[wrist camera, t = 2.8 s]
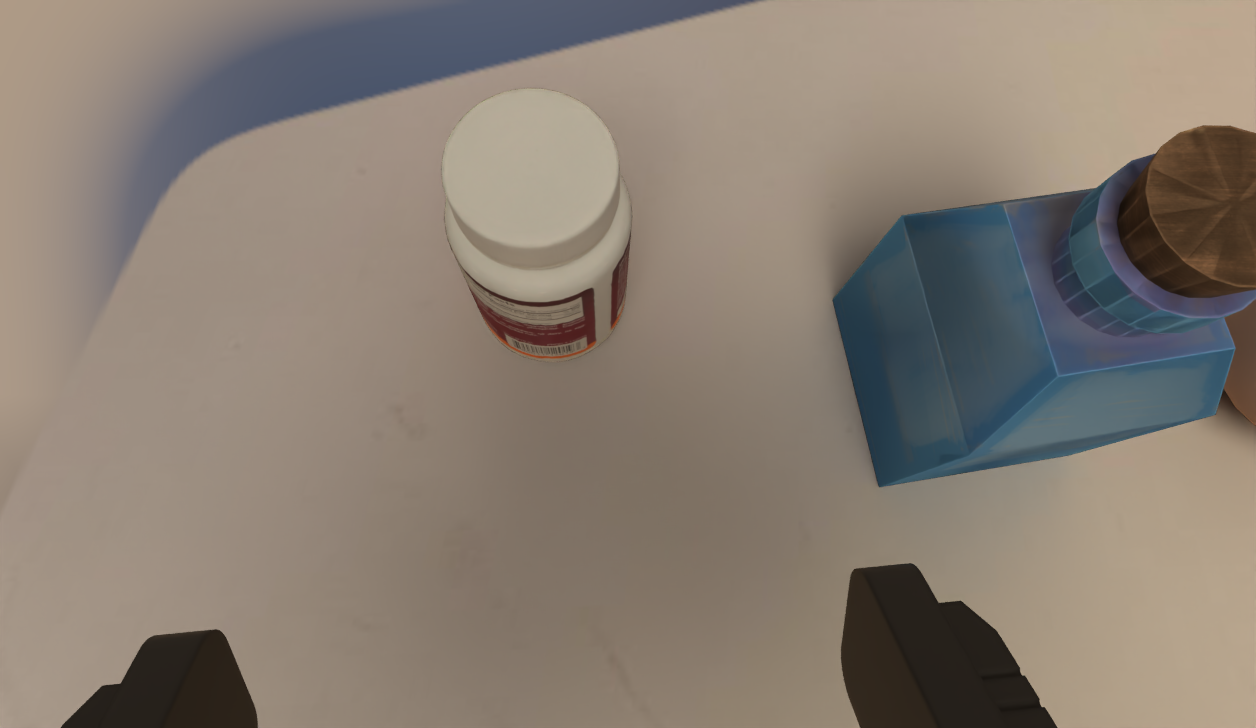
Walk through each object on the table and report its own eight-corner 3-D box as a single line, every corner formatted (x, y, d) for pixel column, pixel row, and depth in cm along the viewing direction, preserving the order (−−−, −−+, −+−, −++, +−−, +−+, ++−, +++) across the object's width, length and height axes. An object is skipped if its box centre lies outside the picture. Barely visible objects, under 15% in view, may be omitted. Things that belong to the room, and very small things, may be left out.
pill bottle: (550, 200, 27) (529, 33, 19) (655, 292, 26) (680, 160, 18) (446, 296, 26) (377, 165, 18) (553, 395, 25) (531, 305, 17)
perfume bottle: (879, 487, 25) (1126, 400, 13) (832, 299, 26) (1017, 74, 15) (1068, 455, 25) (1469, 344, 14) (1012, 273, 27) (1327, 35, 15)
